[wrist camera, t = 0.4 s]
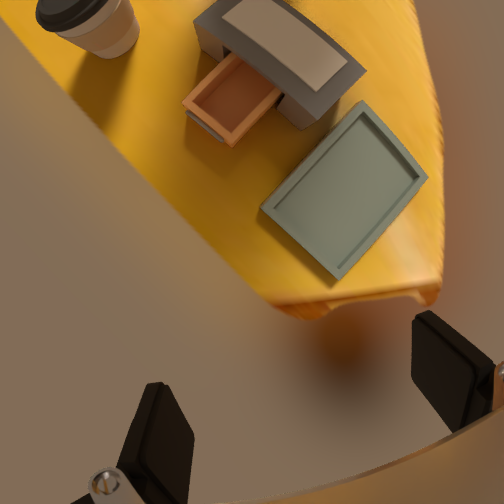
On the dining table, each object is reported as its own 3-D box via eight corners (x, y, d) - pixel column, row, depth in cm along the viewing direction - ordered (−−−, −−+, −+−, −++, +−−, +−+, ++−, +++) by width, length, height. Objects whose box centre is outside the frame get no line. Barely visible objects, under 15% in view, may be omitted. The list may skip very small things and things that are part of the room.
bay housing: (342, 88, 33) (368, 70, 25) (300, 131, 35) (318, 119, 27) (245, 10, 30) (248, -24, 22) (200, 49, 31) (192, 19, 23)
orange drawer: (256, 44, 32) (259, 27, 27) (299, 79, 33) (308, 66, 28) (185, 114, 34) (177, 106, 29) (229, 151, 35) (227, 148, 30)
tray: (356, 103, 34) (362, 99, 32) (420, 176, 37) (428, 177, 35) (259, 206, 37) (260, 208, 35) (334, 275, 39) (338, 280, 37)
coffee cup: (161, 20, 30) (128, -44, 15) (121, 75, 32) (64, 32, 17) (111, 3, 28) (67, -52, 14) (73, 54, 30) (12, 16, 16)
